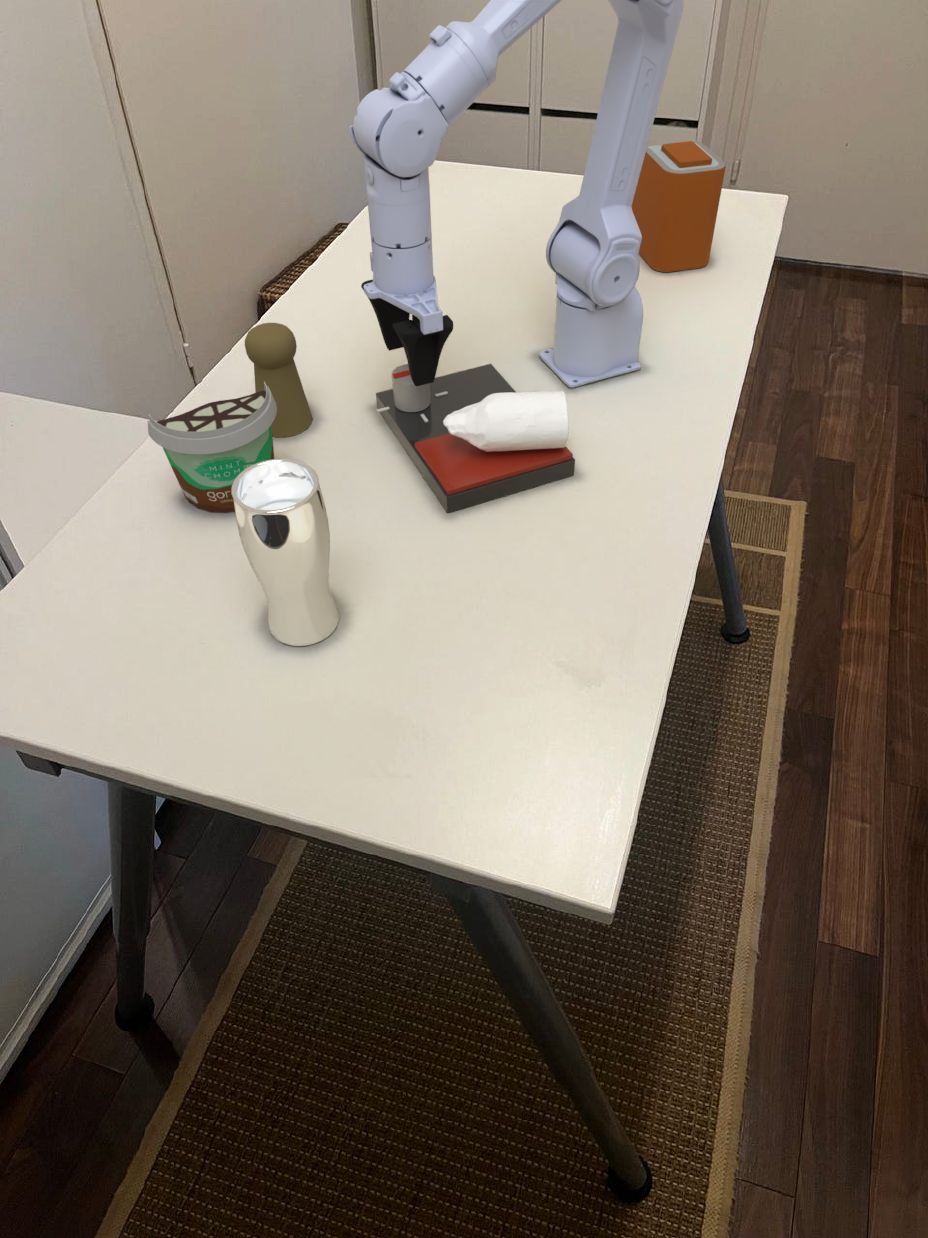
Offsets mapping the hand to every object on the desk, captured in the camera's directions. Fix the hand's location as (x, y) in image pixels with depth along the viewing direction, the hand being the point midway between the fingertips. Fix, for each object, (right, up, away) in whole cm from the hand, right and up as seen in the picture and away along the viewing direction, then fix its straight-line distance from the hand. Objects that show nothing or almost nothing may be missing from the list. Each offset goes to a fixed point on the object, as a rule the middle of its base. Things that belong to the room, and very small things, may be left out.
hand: (409, 364), depth 97 cm
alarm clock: (+34, +25, +32) cm, 53 cm away
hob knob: (0, -3, +3) cm, 5 cm away
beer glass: (-8, -27, -16) cm, 32 cm away
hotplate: (+9, -10, -3) cm, 13 cm away
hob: (+6, -8, +2) cm, 10 cm away
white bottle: (+10, -9, -3) cm, 14 cm away
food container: (-17, -15, -4) cm, 23 cm away
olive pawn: (-14, -5, +5) cm, 16 cm away
